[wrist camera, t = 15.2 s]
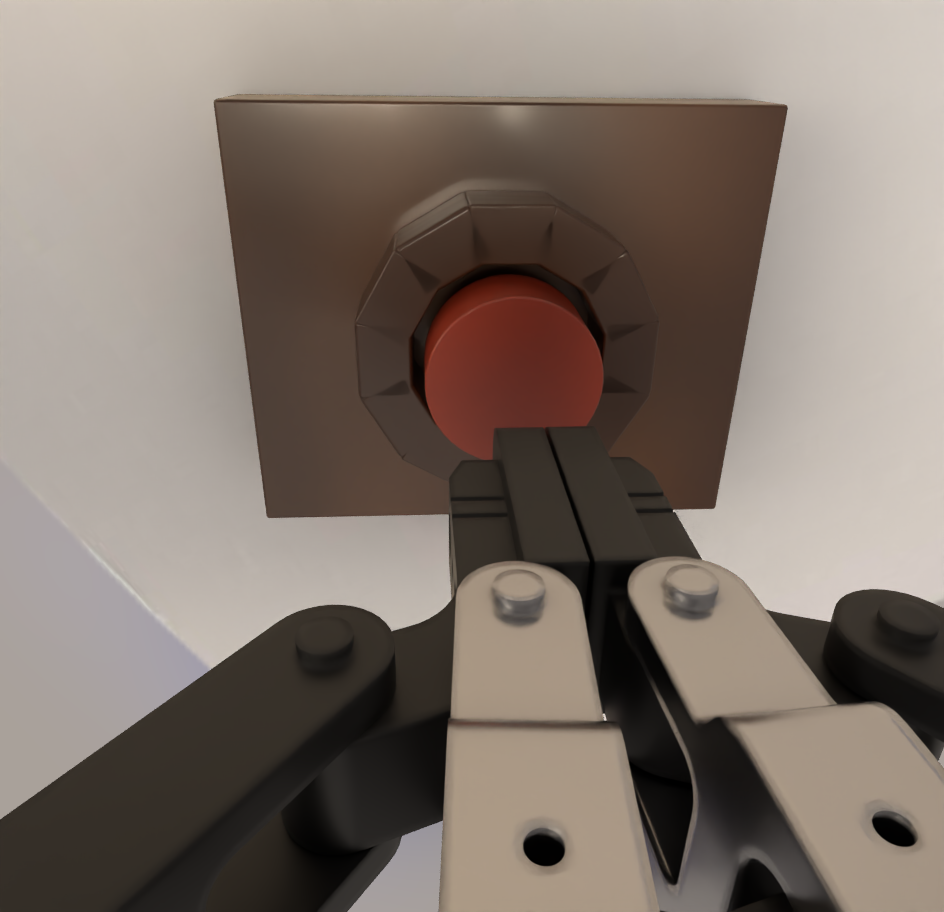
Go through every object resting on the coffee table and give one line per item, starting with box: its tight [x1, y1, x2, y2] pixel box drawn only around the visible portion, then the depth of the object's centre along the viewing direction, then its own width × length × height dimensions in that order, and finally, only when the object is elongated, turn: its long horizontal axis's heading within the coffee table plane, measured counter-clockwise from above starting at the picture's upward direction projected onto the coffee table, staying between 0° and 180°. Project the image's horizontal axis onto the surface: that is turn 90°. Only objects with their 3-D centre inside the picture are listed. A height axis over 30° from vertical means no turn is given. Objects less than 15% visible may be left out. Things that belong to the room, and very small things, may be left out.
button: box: [424, 274, 604, 460], centre depth 16 cm, size 4×4×2 cm
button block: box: [214, 94, 788, 518], centre depth 19 cm, size 12×10×4 cm
